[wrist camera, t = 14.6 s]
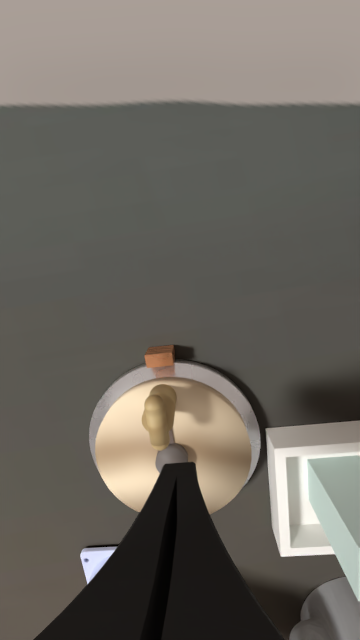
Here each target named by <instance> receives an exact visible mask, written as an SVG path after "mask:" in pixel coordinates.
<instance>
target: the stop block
mask: <svg viewBox="0 0 360 640" xmlns="http://www.w3.org/2000/svg"><path fill="white" fill-rule="evenodd" d="M307 468H308V496H309V501H310V503H311V506H312V508H313V510H314V512H315V514H316V516H317V518H318V520H319V522H320V524H321V526H322V528H323V530H324V532H325V534H326V536H327V538H328V540H329V542H330V544H331V547H332V549H333V551H334V553H335V555H336V557H337V559H338V561H339V563H340V565H341V567H342V569H343V571H344V573H345V575H346V577H347V579H348V581H349V583H350V585H351V588H352V590H353V592H354V594H355V596H356V598H357V600H358V601H360V457H359V456H358V455H355V456H342V457H328V458H315V459H307Z"/></svg>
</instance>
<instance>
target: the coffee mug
mask: <svg viewBox="0 0 360 640" xmlns="http://www.w3.org/2000/svg"><path fill="white" fill-rule="evenodd" d="M289 640H360V601H358V600H357V598H356V596H355V594H354V592H353V590H352V588H351V585H350V583H349V581H348V579H347V577H341V578H337V579H334V580H331V581H328V582H326V583H324V584H322V585H320V586H319V587H317V588H316V589H315V590H313V591H312V592H311V593H310V594H309V596H308V597H307V598H306V600H305V601H304V603H303V606H302V609H301V621H300V622H299V623H297V624H296V625H295V626H294V627H293V629H292V630H291V633H290V636H289Z"/></svg>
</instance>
